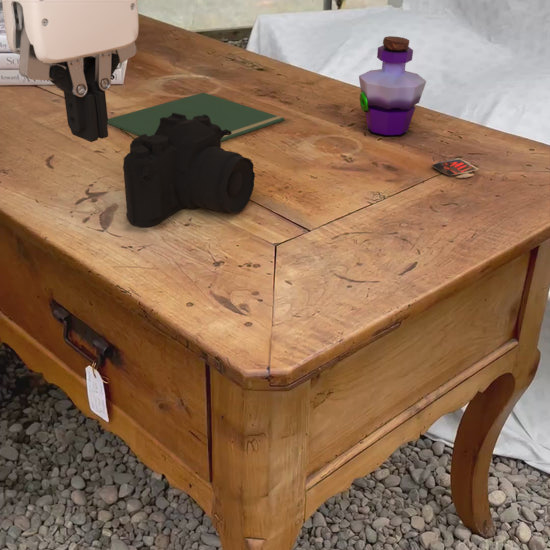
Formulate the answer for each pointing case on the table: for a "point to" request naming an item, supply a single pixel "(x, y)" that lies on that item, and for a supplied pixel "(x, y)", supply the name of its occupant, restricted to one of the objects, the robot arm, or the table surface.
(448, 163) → the matchbox
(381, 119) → the potion bottle
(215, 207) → the film camera
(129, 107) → the table surface
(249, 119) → the book
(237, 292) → the table surface
